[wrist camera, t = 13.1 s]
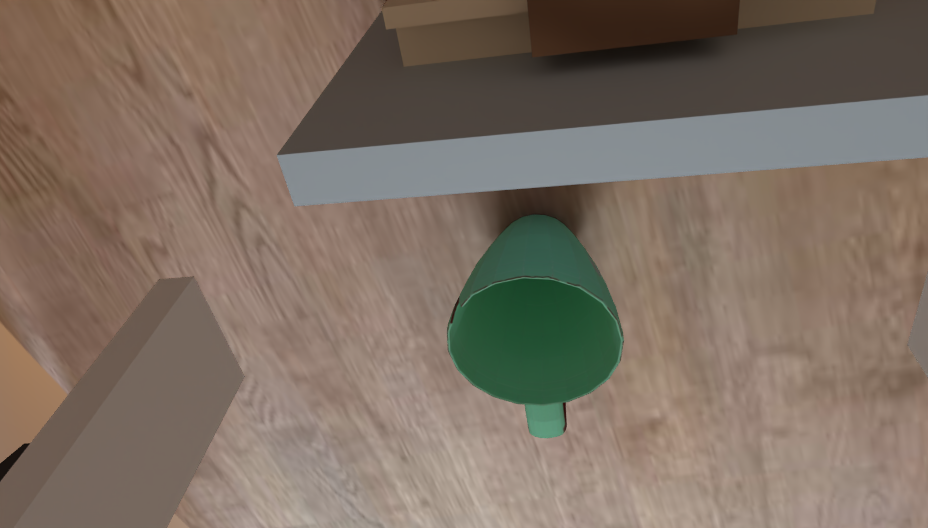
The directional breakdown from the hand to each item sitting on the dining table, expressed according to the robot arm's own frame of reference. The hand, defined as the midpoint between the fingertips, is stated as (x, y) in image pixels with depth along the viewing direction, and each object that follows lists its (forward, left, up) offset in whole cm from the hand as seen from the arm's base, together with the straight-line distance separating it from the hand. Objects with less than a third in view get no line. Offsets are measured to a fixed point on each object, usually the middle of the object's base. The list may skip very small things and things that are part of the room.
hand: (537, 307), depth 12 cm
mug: (+20, -2, -28) cm, 34 cm away
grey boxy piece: (+4, +3, -28) cm, 28 cm away
